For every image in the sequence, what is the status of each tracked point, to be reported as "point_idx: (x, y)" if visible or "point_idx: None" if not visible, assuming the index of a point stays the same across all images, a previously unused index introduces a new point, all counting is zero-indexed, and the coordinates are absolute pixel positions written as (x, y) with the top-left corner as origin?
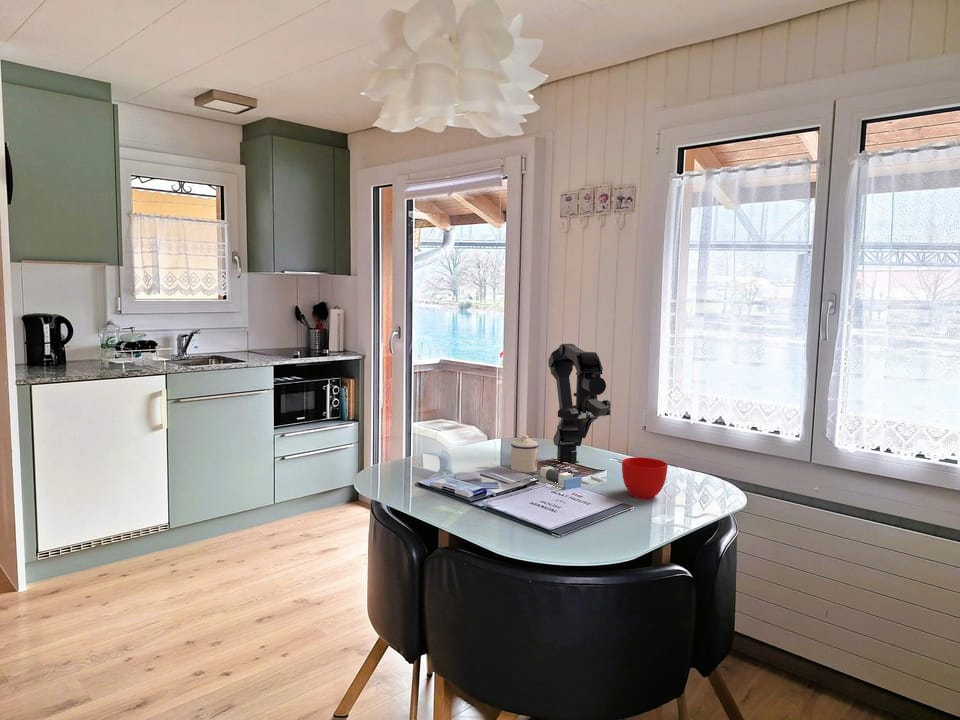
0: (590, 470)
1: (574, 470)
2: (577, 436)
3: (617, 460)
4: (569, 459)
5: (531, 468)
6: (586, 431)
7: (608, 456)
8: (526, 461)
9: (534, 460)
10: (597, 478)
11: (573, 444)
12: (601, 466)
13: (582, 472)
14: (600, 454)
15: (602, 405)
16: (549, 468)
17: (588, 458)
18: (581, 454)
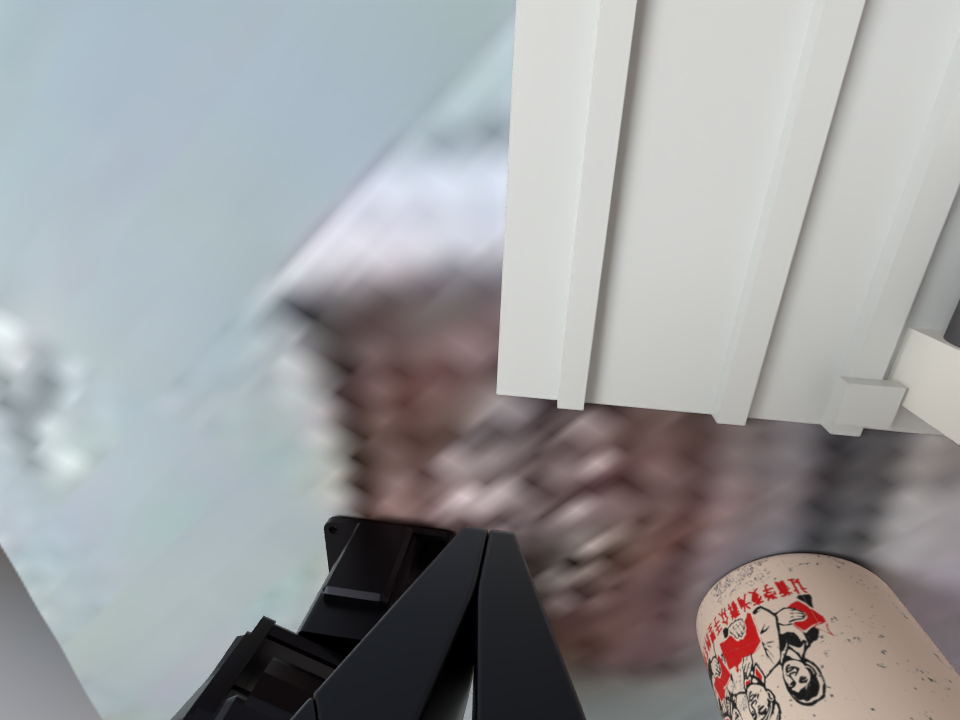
0: (386, 357)
1: (573, 374)
2: (279, 716)
3: (42, 421)
4: (408, 557)
5: (846, 579)
6: (435, 631)
7: (51, 510)
8: (932, 651)
9: (849, 631)
10: (632, 31)
11: (318, 660)
12: (236, 384)
13: (483, 354)
14: (75, 561)
15: None
16: None
17: (197, 550)
18: (183, 619)
